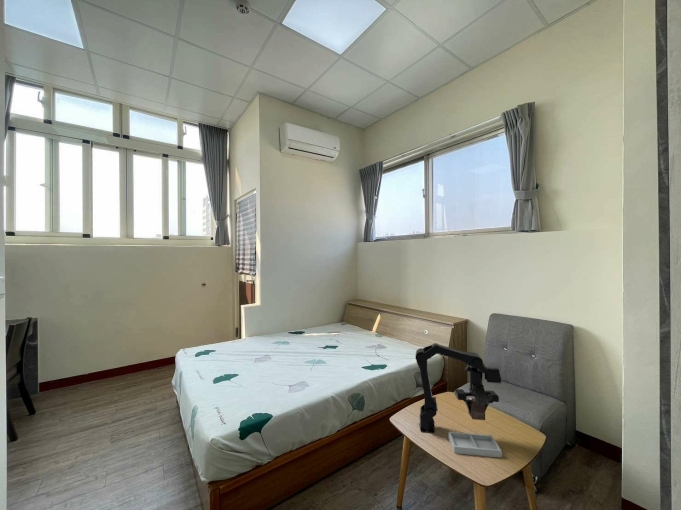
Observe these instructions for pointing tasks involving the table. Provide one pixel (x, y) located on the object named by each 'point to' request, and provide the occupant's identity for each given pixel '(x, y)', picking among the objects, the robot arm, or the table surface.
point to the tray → (474, 444)
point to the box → (476, 410)
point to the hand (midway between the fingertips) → (476, 413)
